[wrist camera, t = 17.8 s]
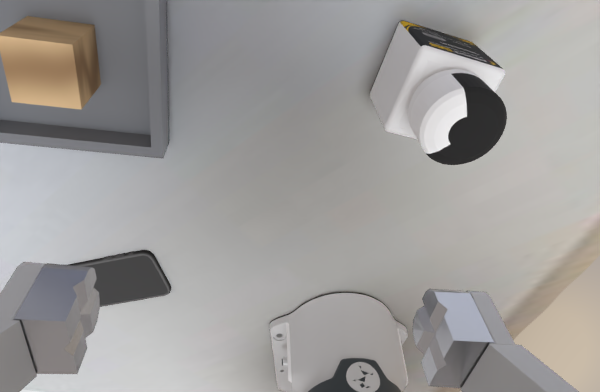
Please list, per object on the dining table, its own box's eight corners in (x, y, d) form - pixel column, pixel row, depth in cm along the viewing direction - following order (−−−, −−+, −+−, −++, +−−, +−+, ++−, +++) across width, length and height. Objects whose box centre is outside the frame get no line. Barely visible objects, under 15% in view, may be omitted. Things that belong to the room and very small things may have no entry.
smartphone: (25, 274, 52) (149, 251, 51) (28, 269, 53) (151, 246, 51) (58, 315, 56) (173, 295, 55) (61, 309, 57) (174, 289, 56)
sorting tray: (168, 142, 43) (163, 158, 41) (-12, 123, 41) (-29, 139, 39) (165, -44, 34) (157, -37, 32) (-67, -79, 32) (-94, -75, 30)
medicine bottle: (473, 42, 39) (541, 98, 30) (436, 114, 43) (485, 185, 34) (399, 18, 38) (444, 70, 28) (367, 95, 42) (397, 164, 32)
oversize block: (101, 84, 39) (81, 109, 35) (38, 77, 38) (11, 101, 34) (94, 24, 36) (72, 44, 32) (27, 15, 35) (-4, 35, 31)
